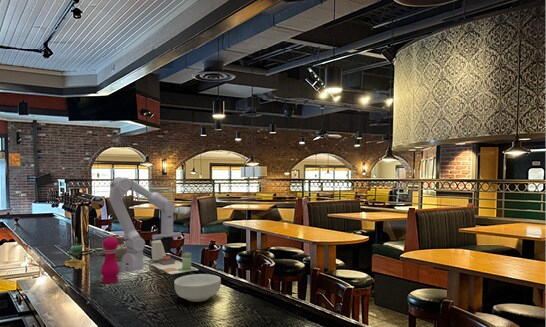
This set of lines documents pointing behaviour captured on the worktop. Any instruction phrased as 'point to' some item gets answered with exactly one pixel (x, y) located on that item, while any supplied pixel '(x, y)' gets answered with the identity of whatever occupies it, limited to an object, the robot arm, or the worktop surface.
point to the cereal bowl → (197, 286)
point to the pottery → (119, 247)
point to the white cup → (157, 250)
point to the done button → (166, 258)
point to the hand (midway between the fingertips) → (166, 252)
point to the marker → (186, 261)
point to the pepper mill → (110, 260)
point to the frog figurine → (75, 251)
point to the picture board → (171, 266)
